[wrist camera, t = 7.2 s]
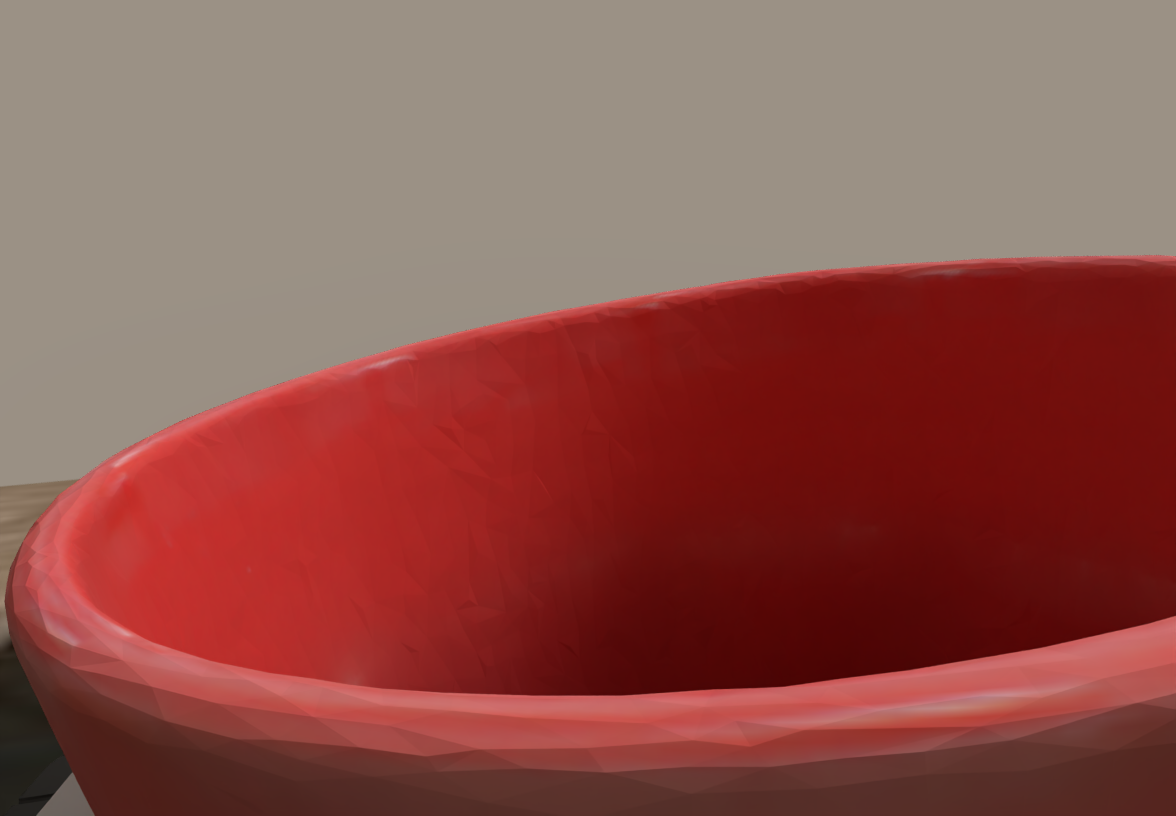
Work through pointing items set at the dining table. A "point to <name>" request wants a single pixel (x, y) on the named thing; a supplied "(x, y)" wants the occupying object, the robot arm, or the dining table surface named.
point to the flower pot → (649, 564)
